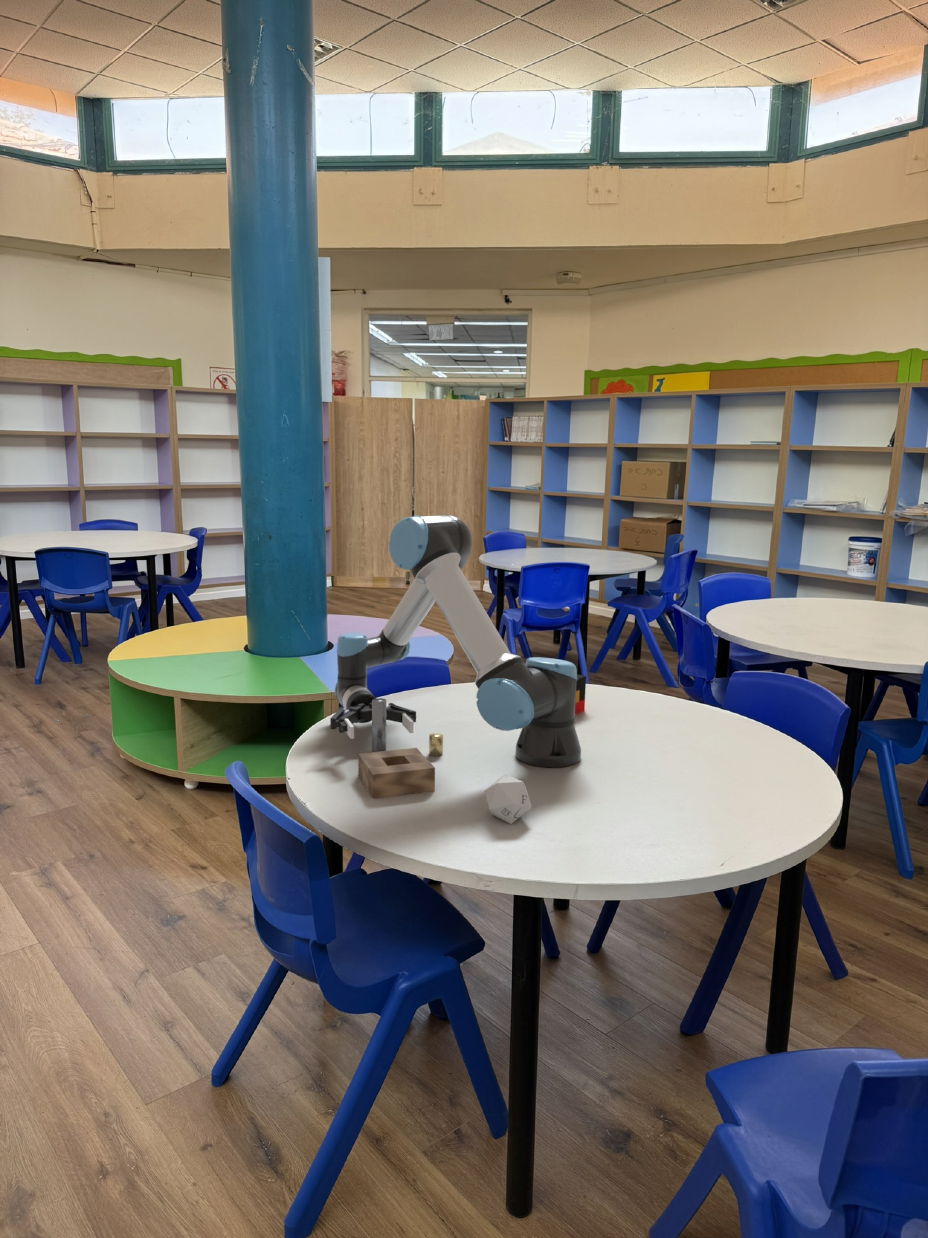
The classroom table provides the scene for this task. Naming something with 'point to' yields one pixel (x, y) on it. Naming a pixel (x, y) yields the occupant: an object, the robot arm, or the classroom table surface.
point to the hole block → (396, 772)
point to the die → (508, 798)
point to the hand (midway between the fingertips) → (382, 730)
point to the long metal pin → (378, 725)
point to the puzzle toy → (580, 694)
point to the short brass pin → (435, 744)
